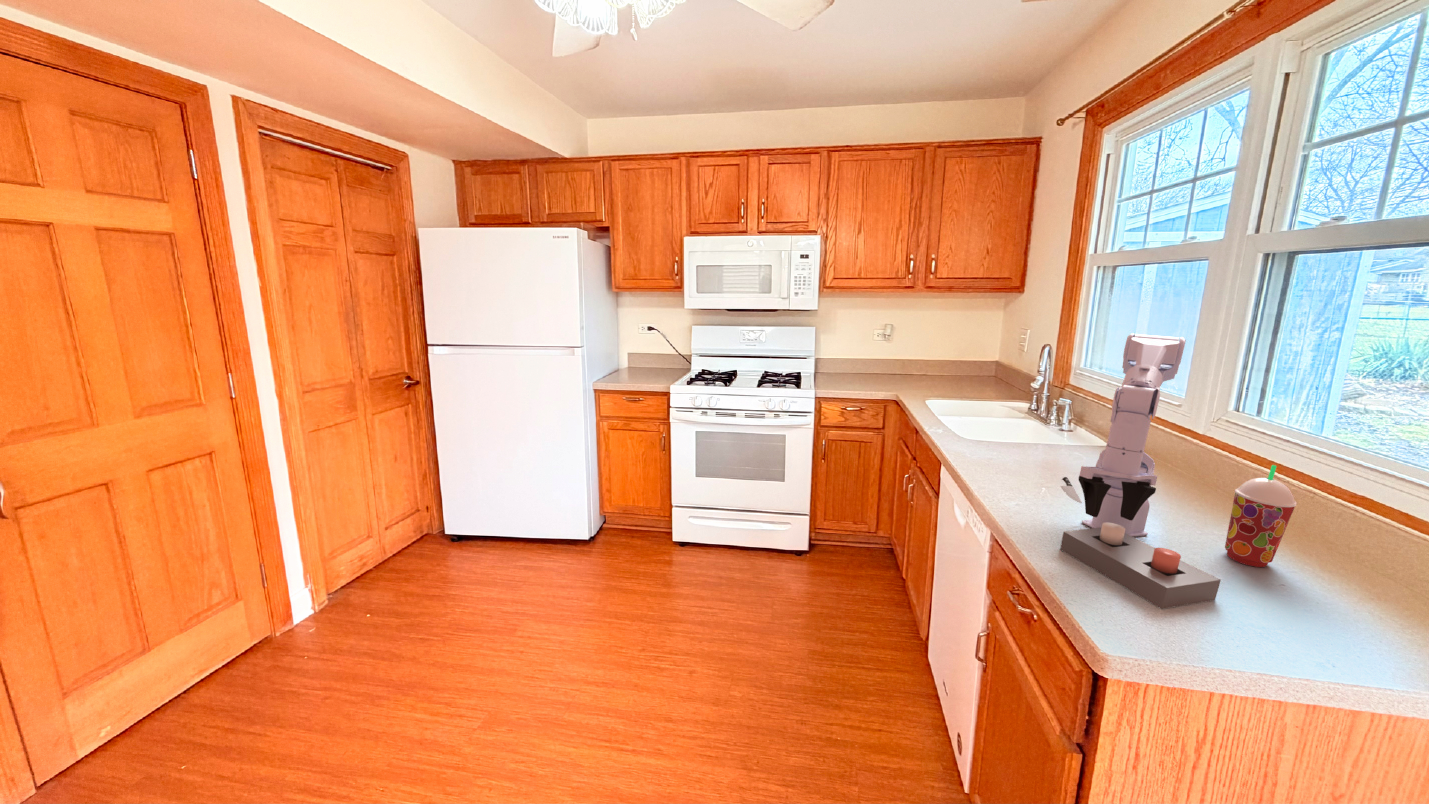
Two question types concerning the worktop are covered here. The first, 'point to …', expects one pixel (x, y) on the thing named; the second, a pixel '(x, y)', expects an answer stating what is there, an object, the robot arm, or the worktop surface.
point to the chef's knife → (1070, 490)
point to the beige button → (1112, 533)
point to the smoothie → (1258, 520)
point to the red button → (1165, 560)
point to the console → (1140, 569)
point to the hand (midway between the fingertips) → (1108, 517)
